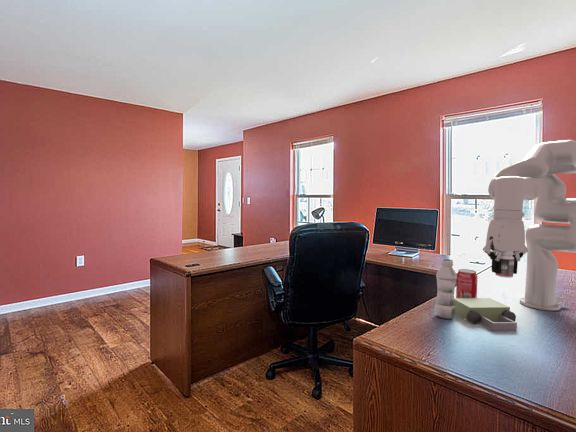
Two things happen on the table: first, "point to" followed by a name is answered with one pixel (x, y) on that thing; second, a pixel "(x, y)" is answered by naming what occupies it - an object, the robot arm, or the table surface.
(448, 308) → the metal bottle
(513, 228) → the robot arm
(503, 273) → the pill bottle
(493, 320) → the cart
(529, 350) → the table surface
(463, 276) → the soda can
